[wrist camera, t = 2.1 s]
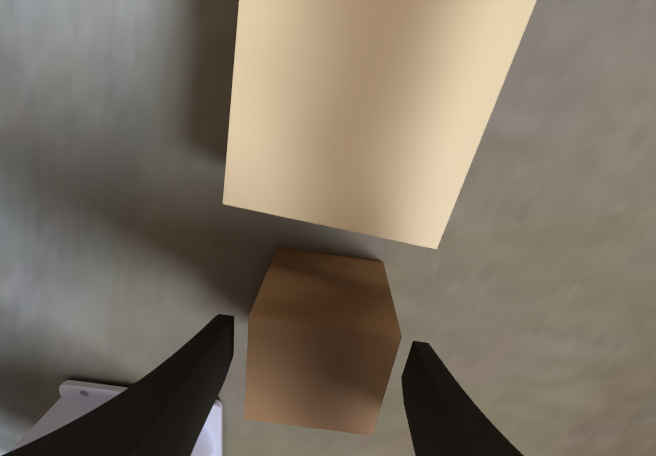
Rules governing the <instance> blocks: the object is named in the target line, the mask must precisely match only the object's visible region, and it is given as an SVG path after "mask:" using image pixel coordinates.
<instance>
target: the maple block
mask: <svg viewBox="0 0 656 456" xmlns="http://www.w3.org/2000/svg"><path fill="white" fill-rule="evenodd" d="M535 3H536V0H239V8H238V21H237V33H236V45H235V58H234V70H233V83H232V95H231V108H230V120H229V132H228V145H227V157H226V170H225V182H224V194H223V204H225V205H230V206H234V207H239V208H244V209H249V210H253V211H258V212H263V213H267V214H272V215H277V216H282V217H286V218H291V219H296V220H300V221H305V222H310V223H315V224H319V225H324V226H329V227H334V228H338V229H343V230H348V231H352V232H357V233H362V234H367V235H371V236H376V237H381V238H385V239H390V240H395V241H400V242H404V243H409V244H414V245H419V246H423V247H428V248H433V249H437V247H438V245H439V242H440V240H441V237H442V235H443V232H444V230H445V227H446V225H447V222H448V220H449V217H450V215H451V212H452V210H453V207H454V205H455V202H456V200H457V197H458V195H459V192H460V190H461V187H462V185H463V182H464V180H465V177H466V175H467V172H468V170H469V167H470V165H471V162H472V160H473V157H474V155H475V152H476V150H477V147H478V145H479V142H480V140H481V137H482V135H483V132H484V130H485V127H486V125H487V123H488V120H489V118H490V115H491V113H492V110H493V108H494V105H495V103H496V100H497V98H498V95H499V93H500V90H501V88H502V85H503V83H504V80H505V78H506V75H507V73H508V70H509V68H510V65H511V63H512V60H513V58H514V55H515V53H516V50H517V48H518V45H519V43H520V40H521V38H522V35H523V33H524V30H525V28H526V25H527V23H528V20H529V18H530V15H531V13H532V10H533V8H534V5H535Z"/></svg>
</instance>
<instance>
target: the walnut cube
mask: <svg viewBox="0 0 656 456" xmlns="http://www.w3.org/2000/svg"><path fill="white" fill-rule="evenodd" d="M401 337H402V336H401V332H400V328H399V324H398V320H397V316H396V312H395V308H394V304H393V300H392V296H391V292H390V288H389V284H388V280H387V276H386V272H385V268H384V264H383V262H380V261H373V260H366V259H359V258H352V257H345V256H337V255H330V254H323V253H316V252H309V251H302V250H294V249H287V248H280V247H277V250H276V252H275V255H274V257H273V259H272V262H271V264H270V267H269V269H268V271H267V274H266V276H265V279H264V281H263V283H262V286H261V288H260V290H259V293H258V295H257V298H256V300H255V302H254V305H253V307H252V310H251V312H250V314H249V324H248V348H247V371H246V395H245V419H249V420H257V421H264V422H272V423H280V424H288V425H295V426H303V427H311V428H318V429H326V430H334V431H342V432H349V433H357V434H365V435H373V431H374V428H375V425H376V421H377V418H378V415H379V411H380V408H381V404H382V401H383V398H384V394H385V391H386V388H387V384H388V381H389V378H390V374H391V371H392V367H393V364H394V361H395V357H396V354H397V351H398V347H399V344H400V341H401Z"/></svg>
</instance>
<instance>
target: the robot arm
mask: <svg viewBox="0 0 656 456" xmlns="http://www.w3.org/2000/svg"><path fill="white" fill-rule="evenodd" d="M233 353H234V316H229V315H222V314H218V315H217V316H215V317H214V318H213V319H212V320H211V321H210V322H209V323H208V324H207V325H206V326H205V327H204V328H203V329H202V330H201V331H200V332H198V333H197V334H196V335H195V336H194V337H193V338H192V339H191V340H190V341H188V342H187V343H186V344H185V345H184V346H183V347H181V348H180V349H179V350H178V351H177V352H176V353H174V354H173V355H172V356H171V357H169V358H168V359H167V360H166V361H164V362H163V363H162V364H161V365H159V366H158V367H157V368H156V369H154V370H153V371H152V372H150V373H149V374H147V375H146V376H145V377H143V378H142V379H141V380H139V381H138V382H136V383H135V384H133V385H132V386H130V387H129V388H128V387H120V386H112V385H105V384H97V383H89V382H82V381H74V380H66V381H64V382H63V383H62V384H61V385H60V386H59V392H60V395H61V397H60V398H59V400H58V401H57V402H56V403H55V404H54V405H53V406H52V407H51V408H50V409H49V410H48V411H47V412H46V414H45V415H44V416H43V417H42V418H41V419H40V420H39V421H38V422H37V423H36V424H35V425H34V426H33V428H32V429H31V430H30V431H29V432H28V433H27V434H26V435H25V436H24V437H23V438H22V439H21V440H20V442H19V443H18V444H17V445H16V446H15V447H14V448H13V449H12V450H11V451H10V452H9V453H6V454H4V455H2V456H222V403H221V402H220V401H219V400H217V399H216V398H217V396H218V394H219V392H220V390H221V388H222V385H223V383H224V381H225V378H226V375H227V373H228V370H229V367H230V364H231V361H232V358H233ZM401 379H402V389H403V398H404V406H405V410H406V415H407V419H408V424H409V428H410V433H411V437H412V442H413V446H414V450H415V455H416V456H523V455H522V454H521V453H520V452H519V451H518V450H517V449H516V448H515V447H514V446H513V445H512V444H511V443H510V442H509V441H508V440H507V439H506V438H505V437H504V436H503V435H502V434H501V433H500V431H499V430H498V429H497V428H496V427H495V426H494V425H493V424H492V423H491V422H490V421H489V420H488V419H487V418H486V416H485V415H484V414H483V413H482V412H481V411H480V409H479V408H478V407H477V406H476V405H475V404H474V402H473V401H472V400H471V399H470V398H469V396H468V395H467V394H466V393H465V391H464V390H463V389H462V388H461V386H460V385H459V384H458V382H457V381H456V380H455V379H454V377H453V376H452V375H451V373H450V372H449V371H448V369H447V368H446V366H445V365H444V364H443V362H442V361H441V360H440V358H439V357H438V356H437V354H436V353H435V351H434V350H433V349H432V347H431V346H430V345H429V343H425V342H417V341H413V343H412V346H411V349H410V352H409V356H408V359H407V362H406V365H405V368H404V371H403V374H402V377H401Z"/></svg>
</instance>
